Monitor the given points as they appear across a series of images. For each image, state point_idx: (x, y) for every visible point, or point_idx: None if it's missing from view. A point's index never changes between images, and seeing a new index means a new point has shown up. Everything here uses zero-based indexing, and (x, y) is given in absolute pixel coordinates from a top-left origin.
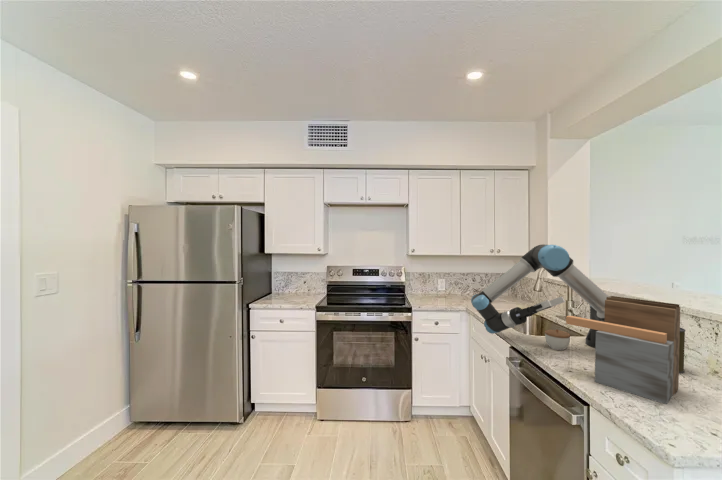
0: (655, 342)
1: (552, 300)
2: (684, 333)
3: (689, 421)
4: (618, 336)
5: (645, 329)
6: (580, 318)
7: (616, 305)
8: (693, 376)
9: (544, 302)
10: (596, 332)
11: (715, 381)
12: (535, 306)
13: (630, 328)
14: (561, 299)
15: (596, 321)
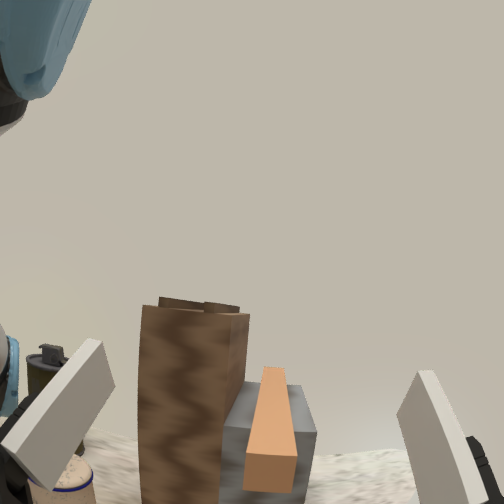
0: (288, 390)
1: (49, 416)
2: None
3: (326, 466)
4: (309, 411)
5: (263, 373)
6: (277, 427)
7: (235, 328)
8: (89, 438)
9: (441, 406)
10: (316, 433)
11: (100, 429)
12: (491, 476)
13: (285, 381)
14: (103, 373)
15: (277, 406)
